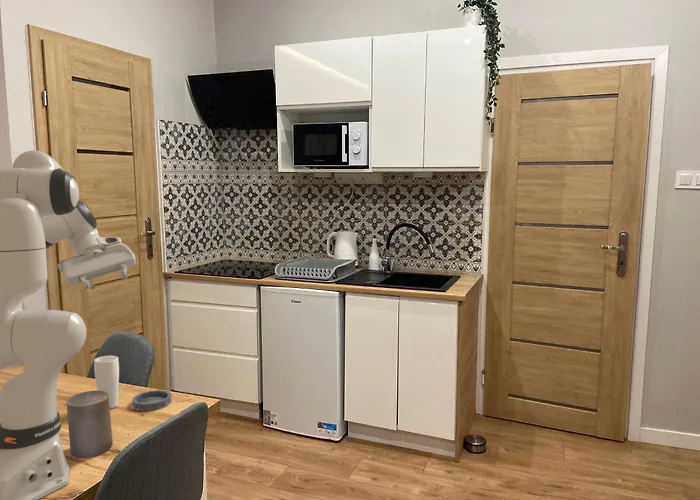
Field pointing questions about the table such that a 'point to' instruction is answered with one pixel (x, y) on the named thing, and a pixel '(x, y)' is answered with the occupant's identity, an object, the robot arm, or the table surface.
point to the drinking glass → (108, 377)
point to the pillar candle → (89, 423)
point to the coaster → (151, 400)
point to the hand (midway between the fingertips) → (108, 282)
